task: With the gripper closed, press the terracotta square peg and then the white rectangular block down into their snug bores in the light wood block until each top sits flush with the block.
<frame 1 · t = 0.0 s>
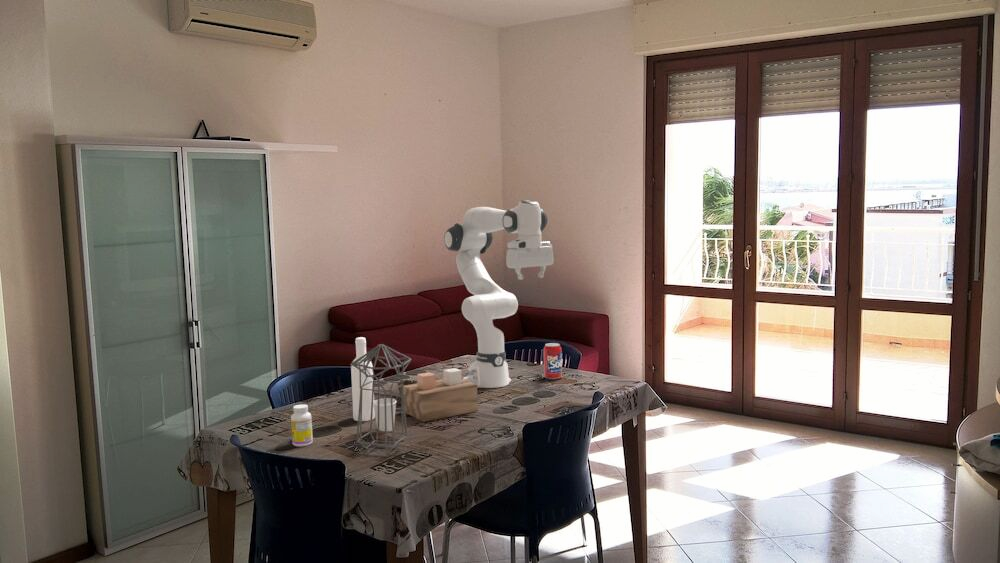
hand: (530, 278, 298), 48 cm above the table, tool pointing down, fingers open, 8 cm apart
bottle: (364, 418, 284), on the table
supplement bottle: (302, 444, 257), on the table
geometric lantern: (385, 452, 246), on the table
peg terracotta: (426, 386, 286), point 10 cm above the table, slide at 0.0 cm
dixie cup: (385, 429, 270), on the table
white rectangular block: (452, 381, 292), point 10 cm above the table, slide at 0.0 cm
light wood block: (440, 411, 291), on the table
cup: (408, 402, 305), on the table
soda can: (553, 378, 338), on the table
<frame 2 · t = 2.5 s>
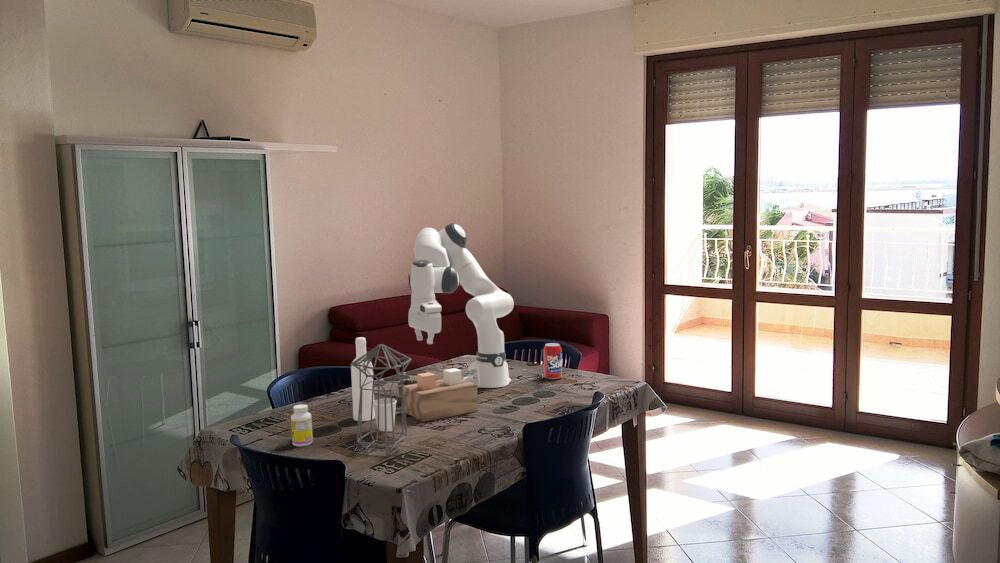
hand: (424, 342, 285), 27 cm above the table, tool pointing down, fingers open, 7 cm apart
nothing on the table moved.
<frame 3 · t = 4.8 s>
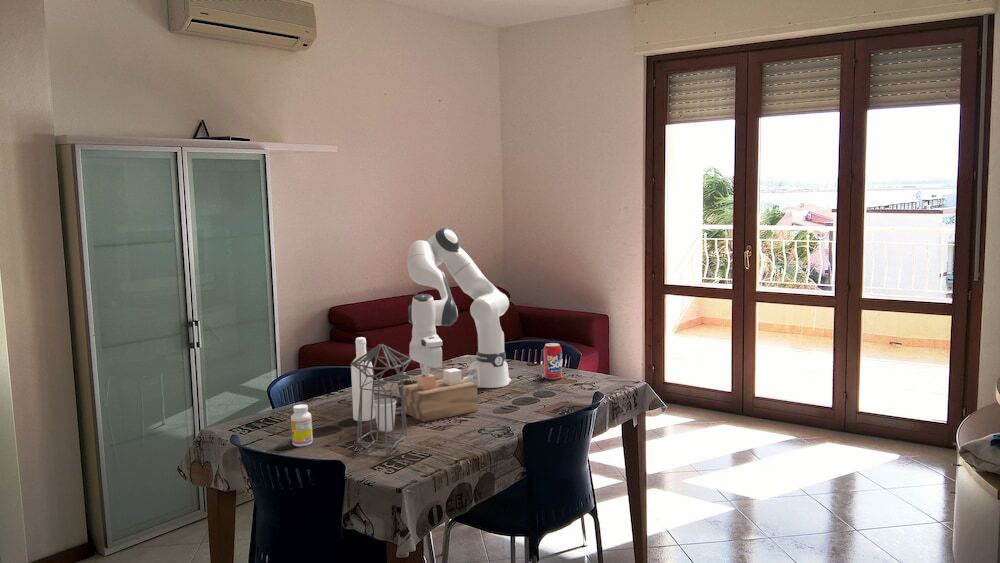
hand: (425, 375, 286), 15 cm above the table, tool pointing down, fingers closed, pressing on peg terracotta
peg terracotta: (426, 387, 287), point 10 cm above the table, slide at 0.4 cm, touching gripper
everything else where it was.
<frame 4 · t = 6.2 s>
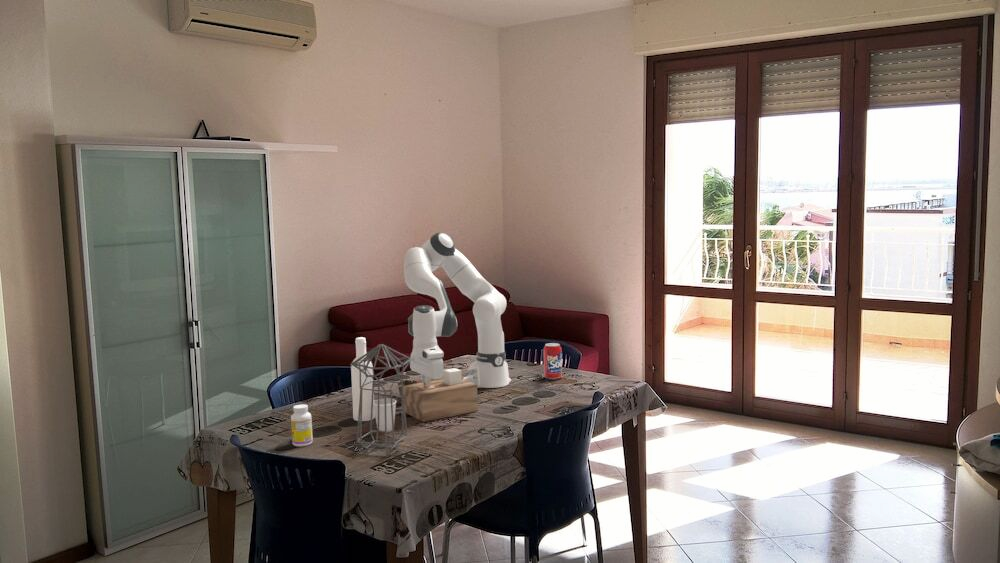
hand: (426, 386, 287), 10 cm above the table, tool pointing down, fingers closed
peg terracotta: (427, 398, 287), point 6 cm above the table, slide at 4.7 cm
everything else where it was.
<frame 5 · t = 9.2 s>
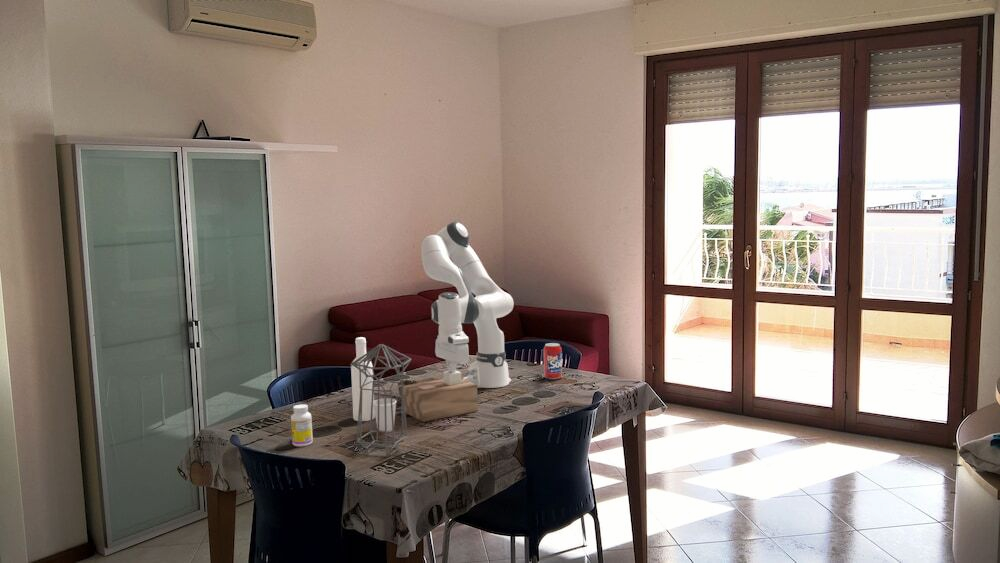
hand: (451, 372, 292), 14 cm above the table, tool pointing down, fingers closed, pressing on white rectangular block
white rectangular block: (452, 383, 292), point 10 cm above the table, slide at 0.8 cm, touching gripper
everything else where it was.
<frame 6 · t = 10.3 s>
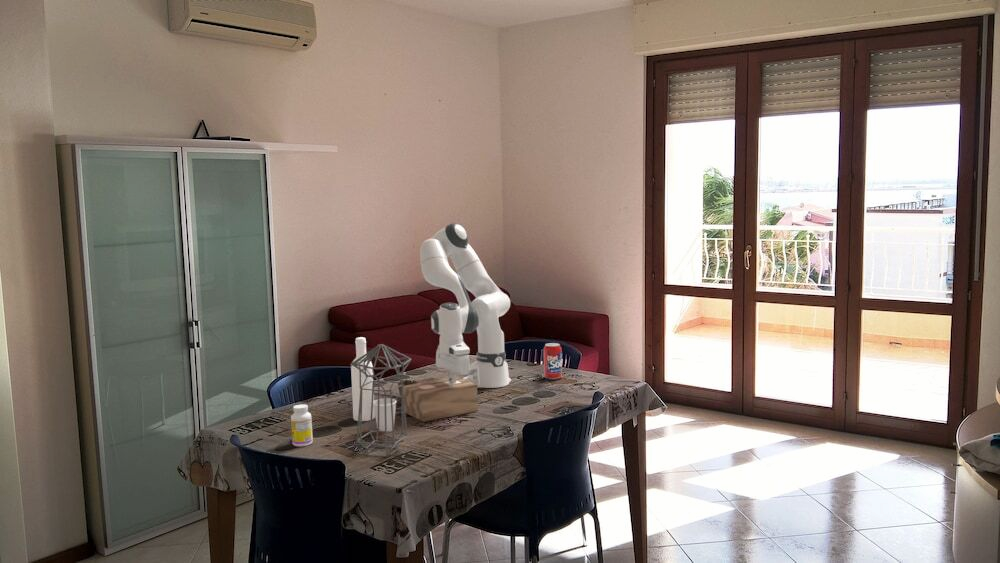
hand: (452, 382, 292), 10 cm above the table, tool pointing down, fingers closed, pressing on white rectangular block
white rectangular block: (453, 394, 293), point 6 cm above the table, slide at 4.7 cm, touching gripper
everything else where it was.
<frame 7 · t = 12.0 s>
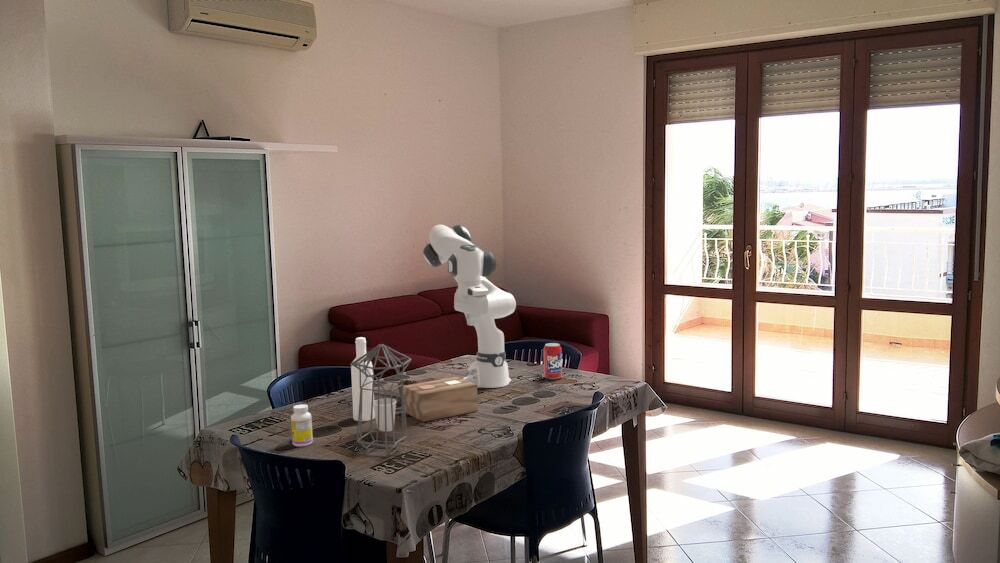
hand: (470, 325, 290), 32 cm above the table, tool pointing down, fingers closed
white rectangular block: (453, 394, 293), point 6 cm above the table, slide at 4.7 cm
everything else where it was.
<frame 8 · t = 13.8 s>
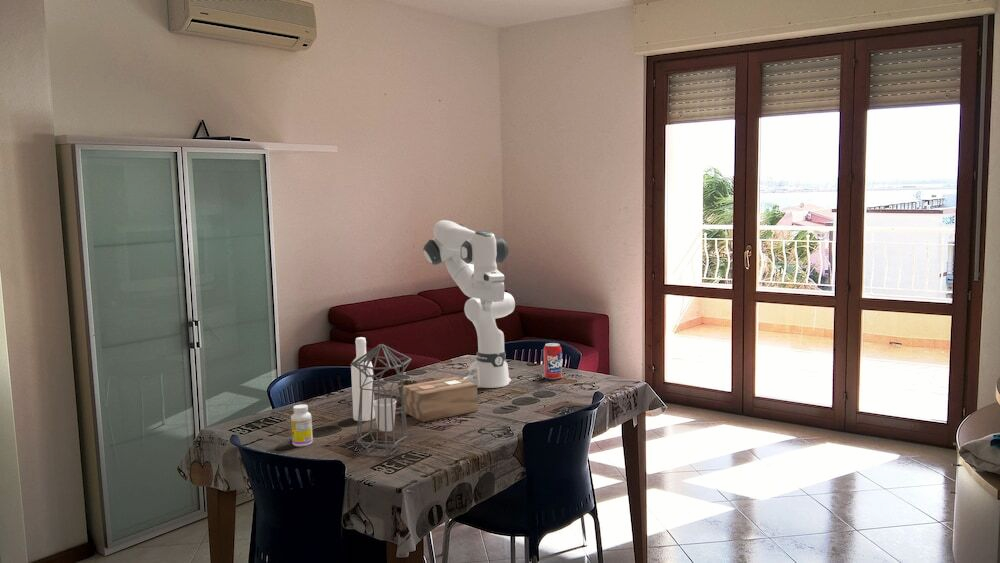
hand: (486, 311, 289), 37 cm above the table, tool pointing down, fingers closed
nothing on the table moved.
at the end: peg terracotta slide at 4.7 cm; white rectangular block slide at 4.7 cm; white rectangular block touching nothing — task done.
